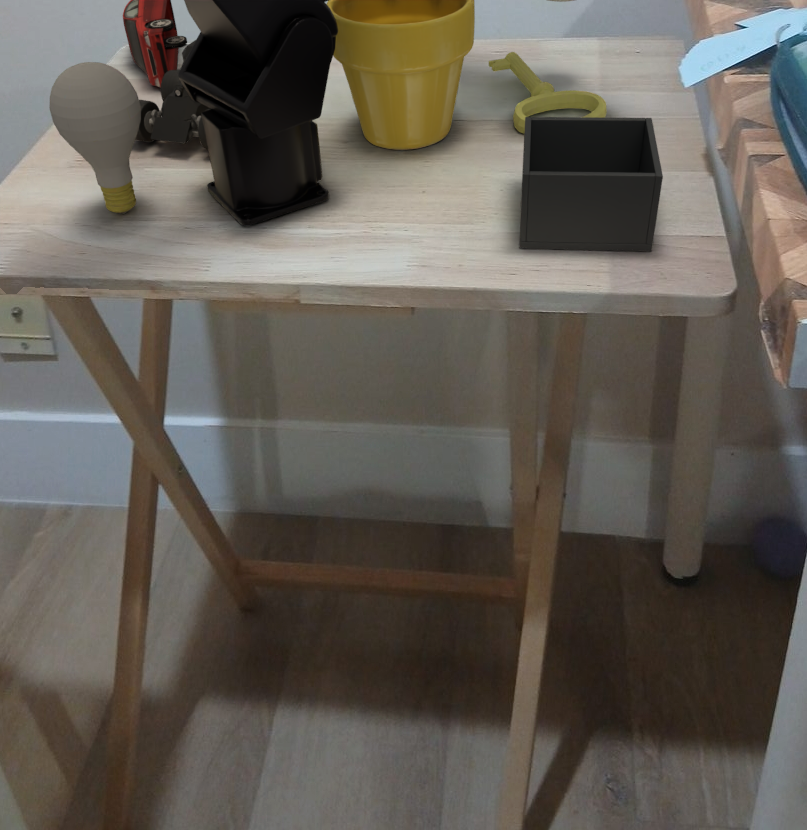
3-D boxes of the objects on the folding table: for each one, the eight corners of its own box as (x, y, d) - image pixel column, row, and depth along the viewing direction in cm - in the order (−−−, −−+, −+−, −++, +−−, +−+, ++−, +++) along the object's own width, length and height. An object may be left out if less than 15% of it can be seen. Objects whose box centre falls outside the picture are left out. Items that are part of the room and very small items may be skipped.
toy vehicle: (307, 84, 78) (295, -27, 73) (218, 161, 68) (195, 39, 62) (222, 74, 81) (204, -34, 75) (124, 148, 70) (94, 29, 65)
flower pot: (355, 172, 66) (343, 32, 60) (325, 116, 74) (311, -14, 67) (492, 149, 68) (495, 10, 62) (450, 96, 76) (448, -32, 69)
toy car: (178, -31, 87) (124, -26, 86) (171, 34, 76) (109, 40, 76) (191, 28, 91) (139, 34, 90) (186, 98, 80) (127, 104, 80)
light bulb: (173, 192, 65) (140, 48, 59) (150, 232, 61) (111, 81, 54) (99, 192, 66) (58, 48, 59) (70, 231, 62) (23, 82, 55)
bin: (519, 248, 57) (522, 174, 54) (522, 187, 63) (525, 116, 60) (651, 251, 57) (663, 175, 53) (642, 189, 62) (651, 117, 59)
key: (511, 73, 78) (512, 48, 77) (618, 120, 71) (621, 92, 69) (444, 97, 76) (443, 71, 74) (548, 148, 68) (549, 120, 66)
